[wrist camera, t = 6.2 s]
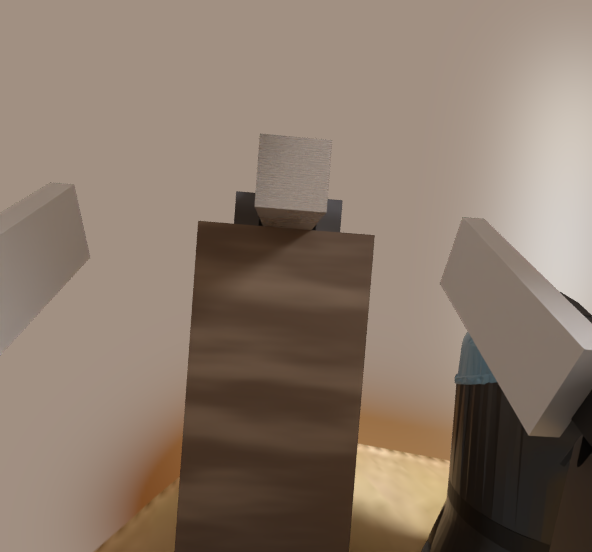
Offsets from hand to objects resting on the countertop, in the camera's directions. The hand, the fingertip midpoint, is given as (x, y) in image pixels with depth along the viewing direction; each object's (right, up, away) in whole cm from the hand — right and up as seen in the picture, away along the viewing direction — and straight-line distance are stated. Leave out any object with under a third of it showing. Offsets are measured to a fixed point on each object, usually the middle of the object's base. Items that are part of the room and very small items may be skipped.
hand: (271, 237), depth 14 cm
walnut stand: (-2, -26, +19) cm, 32 cm away
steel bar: (0, +2, +12) cm, 13 cm away
